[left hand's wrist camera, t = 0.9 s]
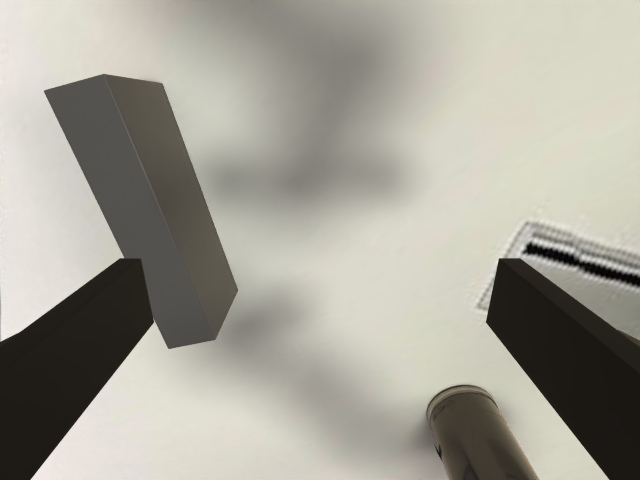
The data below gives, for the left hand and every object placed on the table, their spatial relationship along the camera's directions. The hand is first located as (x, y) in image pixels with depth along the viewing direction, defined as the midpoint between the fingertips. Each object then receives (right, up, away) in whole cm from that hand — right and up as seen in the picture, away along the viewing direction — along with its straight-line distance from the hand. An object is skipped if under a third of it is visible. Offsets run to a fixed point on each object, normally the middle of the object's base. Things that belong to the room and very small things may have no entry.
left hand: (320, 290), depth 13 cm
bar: (-15, +6, +24) cm, 29 cm away
